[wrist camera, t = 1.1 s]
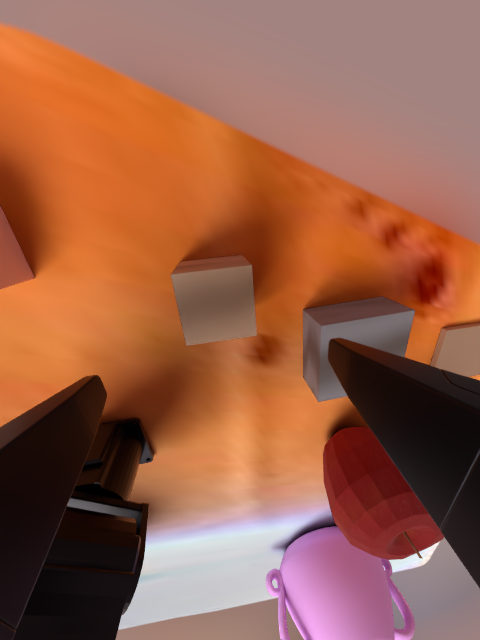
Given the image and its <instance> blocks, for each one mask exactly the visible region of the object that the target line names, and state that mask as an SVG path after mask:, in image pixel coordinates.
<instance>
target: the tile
mask: <svg viewBox="0 0 480 640" xmlns="http://www.w3.org/2000/svg"><path fill="white" fill-rule="evenodd" d="M430 366H433V367H437V368H439V369H440V370H441V369H443V370H446V371H450V372H453V373H456V374H459V375H463V376H466V377H469V376H475V375H480V322H479V323H473V324H466V325H460V326H453V327H446V328H442V329H441V332H440V335H439V338H438V342H437V345H436V348H435V351H434V354H433V358H432V361H431V364H430Z"/></svg>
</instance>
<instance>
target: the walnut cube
mask: <svg viewBox="0 0 480 640" xmlns="http://www.w3.org/2000/svg"><path fill="white" fill-rule="evenodd" d="M171 279H172V283H173V288H174V292H175V297H176V301H177V306H178V310H179V315H180V320H181V324H182V329H183V333H184V338H185V342H186V346H189V345H196V344H203V343H210V342H217V341H224V340H230V339H237V338H244V337H251V336H257V330H256V316H255V301H254V287H253V272H252V265H251V264H250V263H249V262H248V261H247V260H246V259H245V258H244V257H243V256H242V255H234V256H225V257H217V258H208V259H199V260H190V261H181V262H179V264H178V265H177V267H176V268H175V269H174V271H173V272H172V273H171Z"/></svg>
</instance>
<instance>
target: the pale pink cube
mask: <svg viewBox="0 0 480 640" xmlns="http://www.w3.org/2000/svg"><path fill="white" fill-rule="evenodd" d="M34 278H35V277H34V275H33V273H32V271H31V269H30V267H29V265H28V263H27V261H26V258H25V256H24V254H23V252H22V250H21V248H20V246H19V244H18V242H17V239H16V237H15V235H14V233H13V231H12V229H11V227H10V225H9V223H8V220H7V218H6V216H5V214H4V212H3V210H2V208H1V206H0V289H2V288H5V287H8V286H12V285H15V284H18V283H21V282H24V281H27V280H30V279H34Z"/></svg>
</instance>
